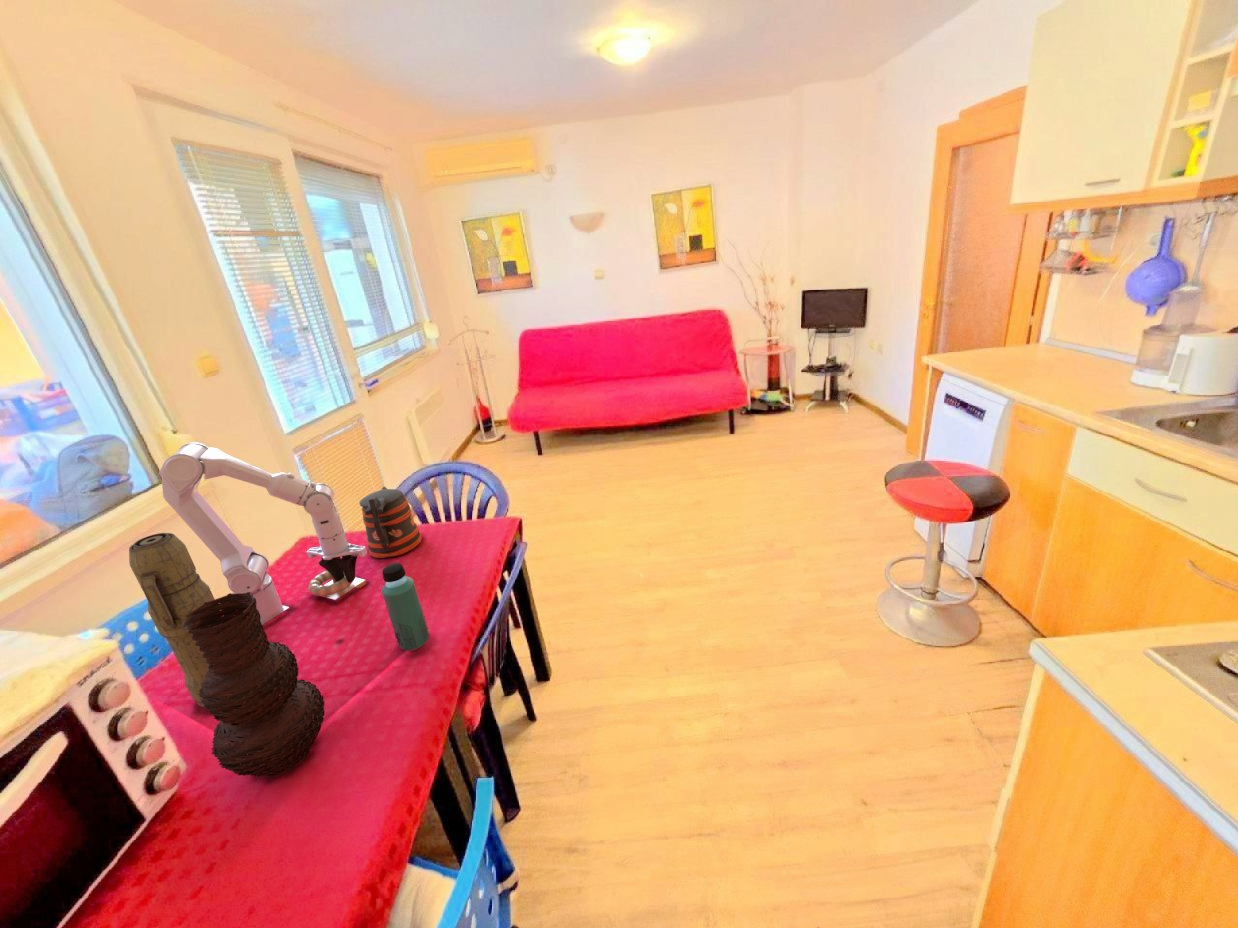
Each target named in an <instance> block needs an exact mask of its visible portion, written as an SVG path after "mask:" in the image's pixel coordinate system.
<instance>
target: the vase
mask: <svg viewBox="0 0 1238 928" xmlns="http://www.w3.org/2000/svg"><path fill="white" fill-rule="evenodd" d="M214 599H215V600H212V601H209V602H205V603H204V604H203V605H202V606H200V607H199V608H197V609H196V610H194V611H193V612H191V613H190V614H188V615H185V617H186V618H185V620H184V622H183V624H182V626H180V627H181V628H184V629H187V630H189V631H188V633H190V634H191V633H192V634H193V636H192V637H191V638H192V640H195V641H196V644H195V645H196V646H199V647H200V649H199V650H200V651H201V652H204V654H203V655H202V657H203V658H206V659H207V661H206V663H207V664H209V667H208V669H209V670H208V672H207V673H206V675H205V676H206V677H205V679H204V680H203V682H202V683H201V687H202V688H201V689H200V690H199V692H200V693H198V694H199V695H200V697H202V701H201V702H202V704H204V706H203V707H202V708H203V709H204V710H205V711H207V712H210V713H209V714H210V715H211V716H212V717H213V720H216V721H219V722H218V723H217V724H216V726H215V728H214V729H213V738H212V747H211V751H212V752H211V754H212V756H214V757H215V758H216V760H218V765H220V768H222V769H225V770H228V771H230V772H232V773H234V774H236V776H240V777H241V776H243V777H247V776H250V777H256V778H257V777H264V778H268V779H269V780H270V779H274V778H276V777H278V776H282V775H283V774H286V773H290V772H291V771H293V769H294V768H296V767H297V766H298V765H300V763H302V762H303V760H306V759H307V757H308V756H309V753H310V751H311V749H312V746H313V744H314V742H315V740H317V738H318V737H319V733H320V731H321V728H322V726H323V725H322V724H323V722H324V719H325V718H324V716H325V704H326V703H325V698H324V695H322V693H321V691H320V690H319V688H317V685H316V684H313V683H312V682H311V681H309V680H305V679H298V676H299V667H298V663H297V662H298V660H297V657H296V655H295V654H294V653H293V651H292V650H291V649H290V648H289V646H288V645H286V644H284V643H281V642H278V641H277V642H276V641H269V638H268V635H267V633H266V631H265V630H264V624H261V622H260V620H261V617H260V614H259V611H258V610H257V609H256V607H257V605H256V599H255V597H253V595H251V592H247V593H237V594H232V593H231V592H229V593H227V594H226V595H223V596H221V597H218V598H214ZM244 606H245V607H244ZM258 614H259V615H258ZM193 615H194V616H193ZM201 621H202V622H201ZM197 622H198V623H197ZM191 624H192V625H191ZM188 625H189V626H188ZM209 625H210V626H209ZM186 626H187V628H186ZM204 626H205V627H204ZM203 627H204V628H203ZM199 628H200V629H199ZM196 629H197V630H196ZM211 670H212V671H211ZM209 673H210V674H209Z"/></svg>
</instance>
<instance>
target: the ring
mask: <svg viewBox="0 0 1238 928" xmlns="http://www.w3.org/2000/svg"><path fill="white" fill-rule="evenodd" d="M343 573H344V572H343ZM329 580H332V577H331V575H330V573H329V572H328V571H327V570H325V571H322V572H321V573H319V574H316V575H315V577H313V578H312V579H311V580H310V581H309V583H308V591H309V593H311V594H312V595H313V596H317V597H323V596H327V595H331V594H334V593H338V592H340V591H341V590H343V589H345V588H347V587H348V586H349V585H350V584H351V583H352V582H353V581H354V580H353V581H352V582H351V583H349V582H348V581H347V579H346V577H345V574H344V578H343V579H342V580H340V581H338V582H336V583H334V584H330V585H327V586H324V585H322V584H324V583H325V582H327V581H329Z"/></svg>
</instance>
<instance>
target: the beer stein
mask: <svg viewBox="0 0 1238 928" xmlns="http://www.w3.org/2000/svg"><path fill="white" fill-rule="evenodd" d="M359 506H360V507H361V513H362V520H363V525H364V526H365V533H366V545H367V548H368V553H369V555H370V556H371V557H373V558H376V559H388V558H395V557H397V556H398V557H399V556H402V555H405V554H406V553H408V552H411V551H413V550H414V549H416V548H417V547H418V546H419V545H420V543H421V542H422V535H421V532H420V529H419V527H418V525H417V523H416V522H415V520H414V517H413V514H412V509H411V506H410V504H409V502H408V498H407V497H406V496H405V494H404V493H403V491H402V490H400V489H394V488H387V487H386V486H383V487H382V488H381V489H380V490H377V491H374V492H372V493H370V494H368V495H366V496H364V497H362V498H361V499H360V500H359Z"/></svg>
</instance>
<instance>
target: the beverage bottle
mask: <svg viewBox="0 0 1238 928" xmlns="http://www.w3.org/2000/svg"><path fill="white" fill-rule="evenodd" d="M381 574H382V580H383V581H384V582H385V584H384V585H383V586H382V588H381V595H382V597H383V600H384V603H385V606H386V611H387V614H388V617H389V621H390V624H391V627H392V631H393V633H394V636H395V637H394V638H395V639H396V644H397V645H398V647H399V648H400V649H401V650H402V651H406V652H407V651H408V652H409V651H414V650H417V649H418V650H419V649H420V648H421V647H423V646H425V644H426V643H428V641H429V638H430V632H429V627H428V624H427V620H426V616H425V613H424V609H423V606H422V603H421V601H420V597H419V595H418V591H417V588H416V585H415V581H414V579H413V578H412V577H410V576H407V575H406V570H405V568H404V566H403V564H402V563H400V562H394V563H393V562H392V563H390V564H388V565H386V566H384V568H383V569H382V570H381Z"/></svg>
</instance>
